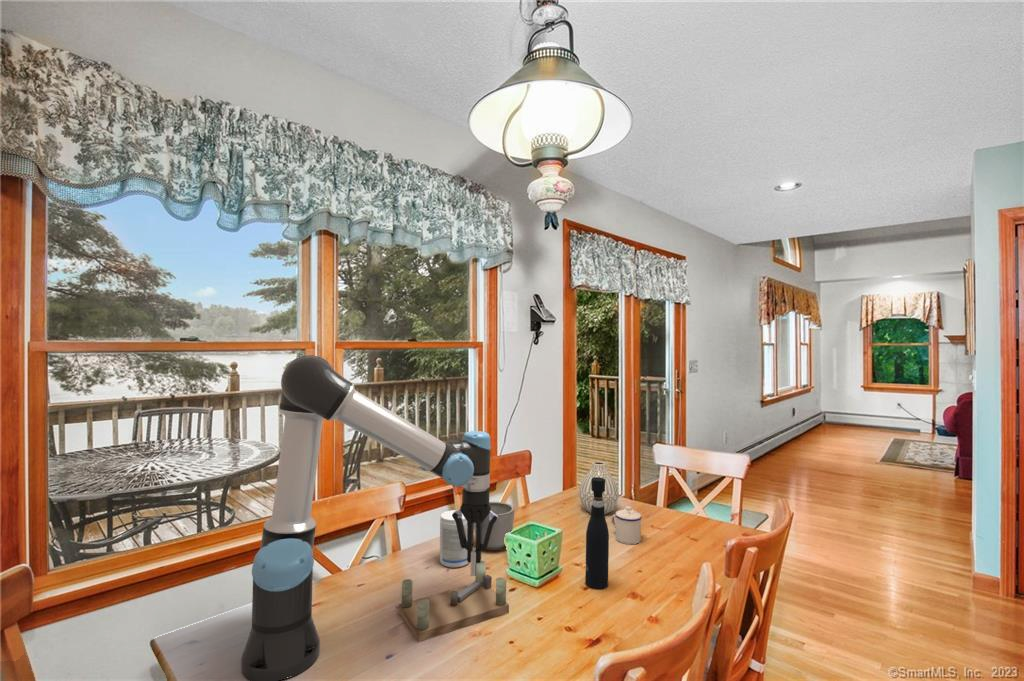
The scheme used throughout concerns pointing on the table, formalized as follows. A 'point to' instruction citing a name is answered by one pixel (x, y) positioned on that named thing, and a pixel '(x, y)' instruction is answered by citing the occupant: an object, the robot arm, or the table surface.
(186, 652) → the table surface
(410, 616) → the wooden peg board
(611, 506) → the vase
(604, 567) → the wine bottle
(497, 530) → the planter
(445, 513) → the supplement tub
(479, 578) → the hinged leg
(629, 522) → the teacup with lid
